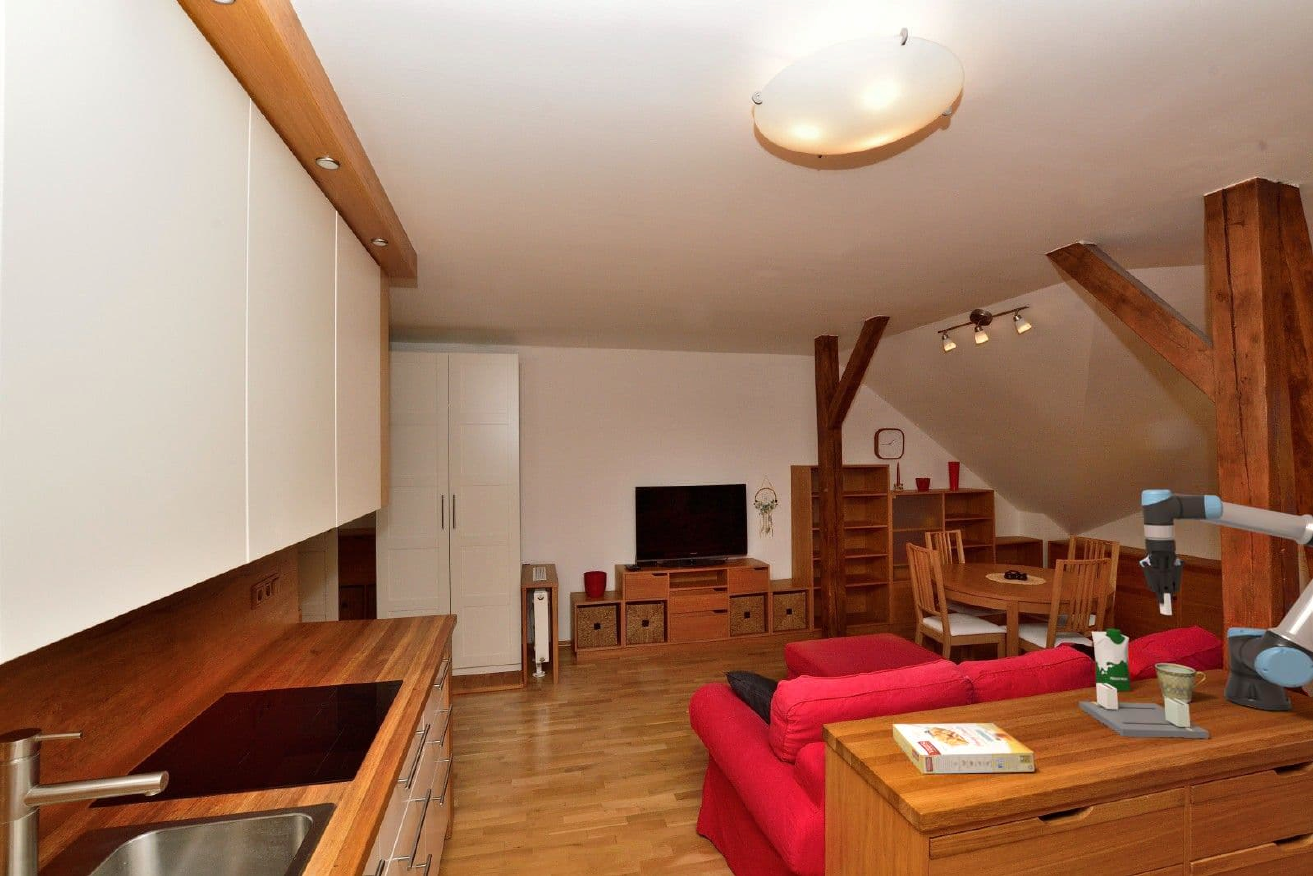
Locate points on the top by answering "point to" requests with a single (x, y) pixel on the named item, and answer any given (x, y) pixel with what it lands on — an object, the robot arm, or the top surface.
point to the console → (1140, 720)
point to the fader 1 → (1107, 696)
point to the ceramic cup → (1177, 681)
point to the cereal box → (962, 748)
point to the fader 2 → (1177, 712)
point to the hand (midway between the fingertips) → (1166, 613)
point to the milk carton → (1112, 659)
